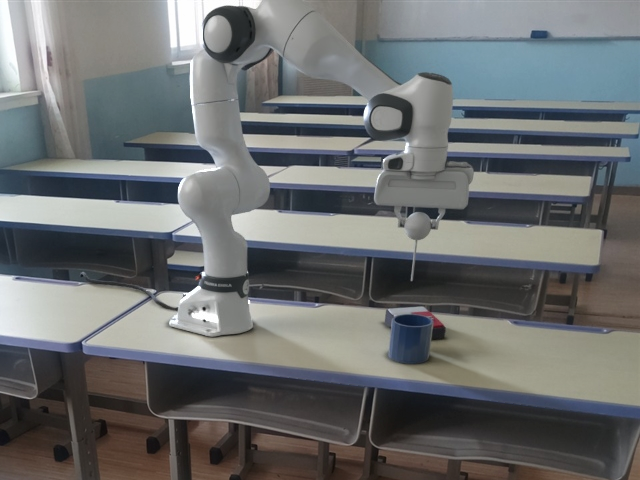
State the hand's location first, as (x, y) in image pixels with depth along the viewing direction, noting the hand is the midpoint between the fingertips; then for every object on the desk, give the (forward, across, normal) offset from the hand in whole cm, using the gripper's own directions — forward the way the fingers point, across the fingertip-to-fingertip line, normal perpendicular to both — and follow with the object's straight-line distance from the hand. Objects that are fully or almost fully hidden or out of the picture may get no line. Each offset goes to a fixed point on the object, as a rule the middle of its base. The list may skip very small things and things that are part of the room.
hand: (417, 228), depth 178 cm
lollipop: (+12, 0, 0) cm, 12 cm away
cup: (+30, -1, 0) cm, 30 cm away
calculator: (+30, 0, -20) cm, 36 cm away
